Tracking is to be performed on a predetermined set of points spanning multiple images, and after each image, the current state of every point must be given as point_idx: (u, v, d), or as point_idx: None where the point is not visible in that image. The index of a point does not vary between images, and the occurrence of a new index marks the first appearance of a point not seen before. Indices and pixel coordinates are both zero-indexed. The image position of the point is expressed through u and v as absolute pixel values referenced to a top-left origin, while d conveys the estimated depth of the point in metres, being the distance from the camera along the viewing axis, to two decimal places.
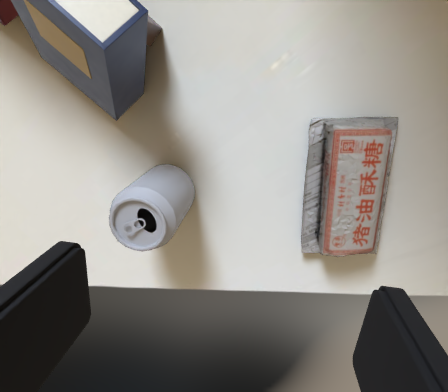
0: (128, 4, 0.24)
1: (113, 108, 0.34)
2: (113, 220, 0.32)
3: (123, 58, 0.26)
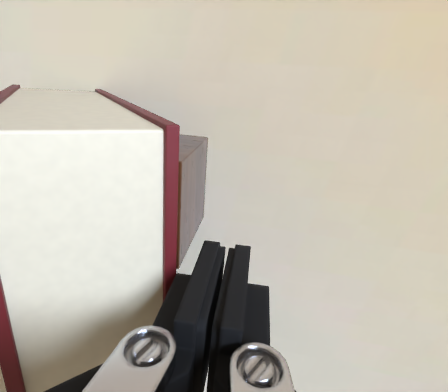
0: None
1: None
2: None
3: None
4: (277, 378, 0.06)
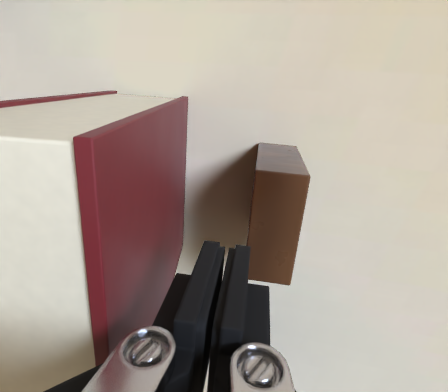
0: None
1: None
2: None
3: None
4: (276, 379, 0.06)
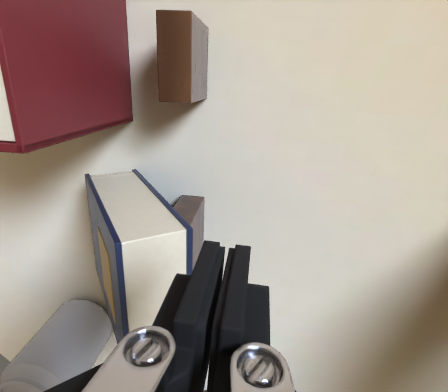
0: None
1: (101, 286, 0.31)
2: (6, 384, 0.29)
3: None
4: (276, 379, 0.06)
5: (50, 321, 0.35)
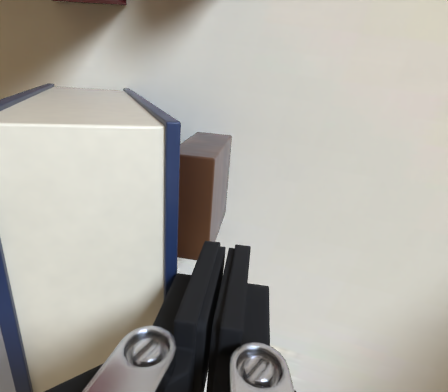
0: None
1: None
2: None
3: None
4: (276, 379, 0.06)
5: None
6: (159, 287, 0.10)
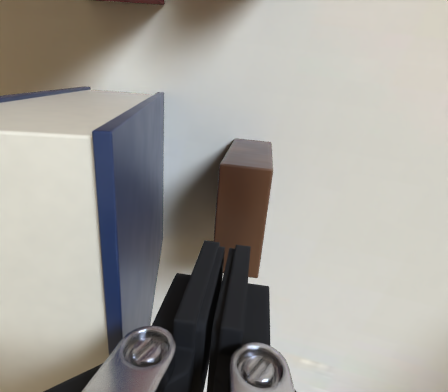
0: None
1: None
2: None
3: None
4: (276, 378, 0.06)
5: None
6: (103, 332, 0.08)
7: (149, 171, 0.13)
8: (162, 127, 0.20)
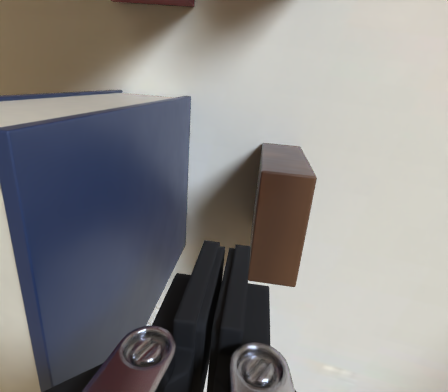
0: None
1: None
2: None
3: None
4: (276, 379, 0.06)
5: None
6: None
7: (142, 175, 0.13)
8: (186, 131, 0.19)
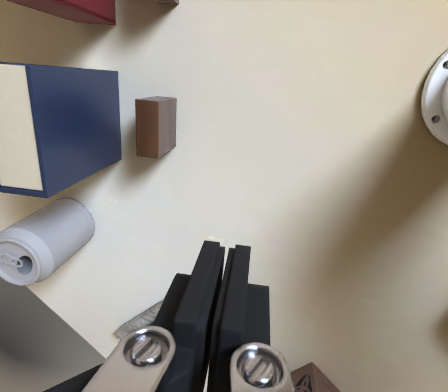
0: (39, 181, 0.27)
1: None
2: None
3: None
4: (276, 379, 0.06)
5: None
6: (34, 135, 0.25)
7: (80, 98, 0.30)
8: (114, 89, 0.37)
